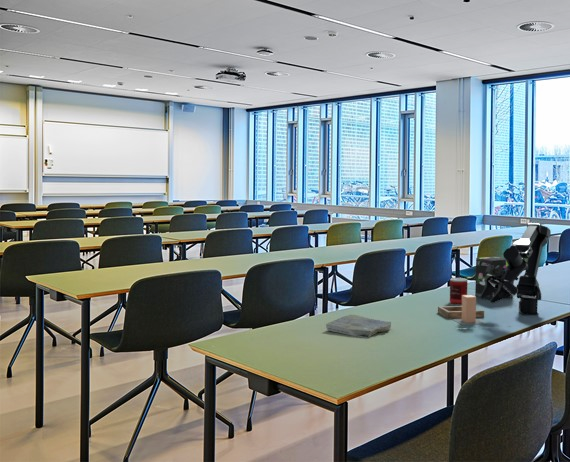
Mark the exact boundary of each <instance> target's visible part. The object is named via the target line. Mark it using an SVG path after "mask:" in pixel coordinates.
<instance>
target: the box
mask: <svg viewBox="0 0 570 462" xmlns="http://www.w3.org/2000/svg"><path fill="white" fill-rule="evenodd" d="M488 265H492V266H495V267H496V266H498V265H499V266H502V267H503V268H506V267H507V266H508V263H507V262H506V260H505V258H504V256H485V257H476V258H475V287H474V288H475V292H474V294H475V295H474V296H475V297H476V298H477V297H478V298H480V296H481V294H482V292H483V290H484V288H485V281H484V277H485V276H486V275H492V276H494V275H493V274H491V273H487V272H486V269H487V267H488ZM514 282H515V280H514V281H513V283H512V284H513V285H514ZM514 286H515V285H514ZM497 291H498V289H497ZM497 291H495V292H493V293H492V294H490V295H488V296H487V297H485V298H484V299H487V300H490V301H491V299H492V298H493V296H494V295H495V294H496V292H497ZM511 295H512V294H511ZM512 298H514V295H512V296H509V297H507V298H504V300H505V299H512Z"/></svg>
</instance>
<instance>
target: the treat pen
mask: <svg viewBox="0 0 570 462" xmlns="http://www.w3.org/2000/svg"><path fill="white" fill-rule="evenodd" d="M437 314H439V315H441V316H443V317H444V318H447V319H459V318H462V305H455V306H454V305H453V306H452V305H451V306H449V305H447V306H446V305H445V306H437ZM476 318H485V310H483V309H481V310H480V309H479V310H477V309H476Z"/></svg>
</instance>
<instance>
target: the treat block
mask: <svg viewBox="0 0 570 462" xmlns="http://www.w3.org/2000/svg"><path fill="white" fill-rule="evenodd" d="M461 306H462V321H464V322H466V323H468V322H476V319H477V317H476V310H477V296H475V295H472V294H467V295H462V304H461Z"/></svg>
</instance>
